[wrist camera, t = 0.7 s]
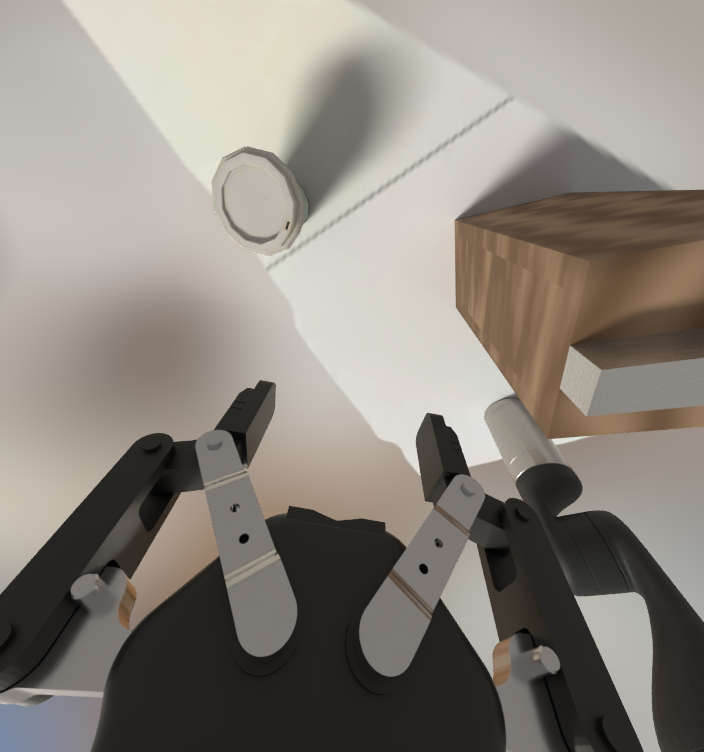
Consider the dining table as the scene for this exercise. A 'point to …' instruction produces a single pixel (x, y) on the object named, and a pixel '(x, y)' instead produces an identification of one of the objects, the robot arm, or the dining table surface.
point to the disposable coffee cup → (258, 201)
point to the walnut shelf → (581, 291)
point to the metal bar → (636, 373)
